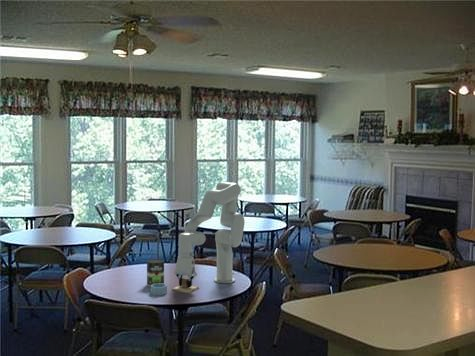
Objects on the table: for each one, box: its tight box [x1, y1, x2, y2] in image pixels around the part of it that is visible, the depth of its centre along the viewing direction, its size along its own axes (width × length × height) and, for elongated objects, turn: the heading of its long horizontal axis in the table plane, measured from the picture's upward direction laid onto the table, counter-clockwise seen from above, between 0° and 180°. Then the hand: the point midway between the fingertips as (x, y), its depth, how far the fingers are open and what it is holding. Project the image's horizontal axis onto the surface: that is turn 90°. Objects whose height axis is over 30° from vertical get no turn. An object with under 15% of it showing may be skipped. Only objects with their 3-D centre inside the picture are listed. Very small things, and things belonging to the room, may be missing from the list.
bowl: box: [150, 283, 168, 296], centre depth 315 cm, size 9×9×4 cm
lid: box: [171, 277, 200, 294], centre depth 322 cm, size 11×11×6 cm
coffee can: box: [146, 258, 165, 287], centre depth 334 cm, size 10×10×14 cm
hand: (185, 286), depth 322 cm, fingers open, 4 cm apart
